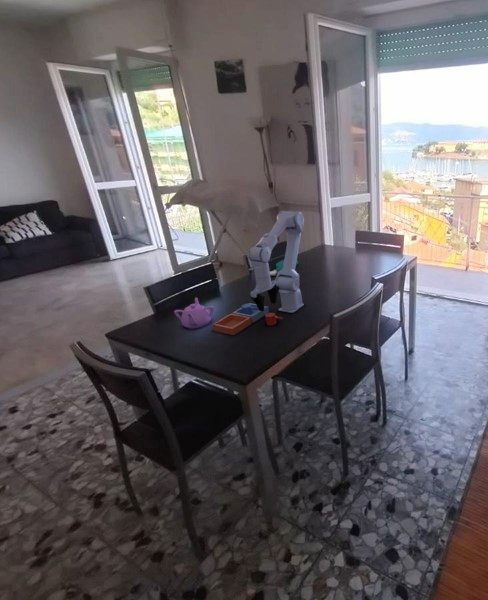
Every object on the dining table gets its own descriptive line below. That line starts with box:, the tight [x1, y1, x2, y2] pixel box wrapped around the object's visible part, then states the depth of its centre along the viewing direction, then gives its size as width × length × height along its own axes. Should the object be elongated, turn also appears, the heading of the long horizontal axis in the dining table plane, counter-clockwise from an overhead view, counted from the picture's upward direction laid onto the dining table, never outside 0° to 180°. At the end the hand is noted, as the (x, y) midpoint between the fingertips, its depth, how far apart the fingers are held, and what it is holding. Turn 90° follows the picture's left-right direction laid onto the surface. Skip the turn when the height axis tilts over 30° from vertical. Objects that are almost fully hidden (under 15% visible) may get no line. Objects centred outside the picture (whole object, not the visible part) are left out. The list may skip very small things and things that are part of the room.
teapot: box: [173, 297, 215, 330], centre depth 150 cm, size 12×14×9 cm
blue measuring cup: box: [241, 303, 258, 315], centre depth 157 cm, size 8×4×4 cm, turn 68°
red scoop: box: [264, 312, 284, 326], centre depth 149 cm, size 8×4×4 cm, turn 68°
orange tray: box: [211, 313, 253, 336], centre depth 147 cm, size 11×11×3 cm
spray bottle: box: [270, 259, 299, 276], centre depth 213 cm, size 3×11×25 cm
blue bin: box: [232, 302, 270, 324], centre depth 157 cm, size 11×11×3 cm
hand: (267, 306), depth 148 cm, fingers open, 7 cm apart
